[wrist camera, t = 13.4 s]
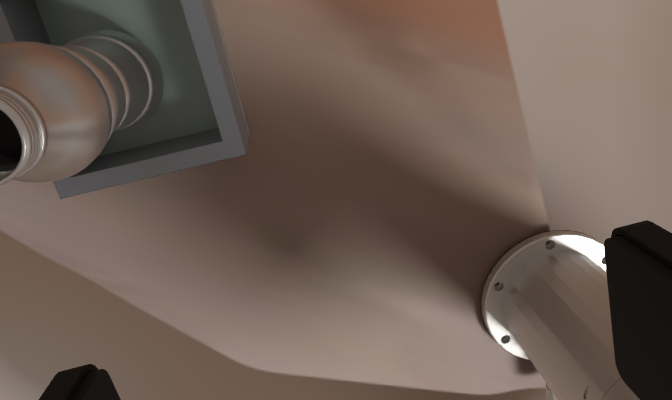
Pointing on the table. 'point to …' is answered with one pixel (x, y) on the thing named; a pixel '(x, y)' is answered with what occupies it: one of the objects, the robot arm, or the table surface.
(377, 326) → the table surface
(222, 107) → the grey open box
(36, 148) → the plastic bottle
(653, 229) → the robot arm
